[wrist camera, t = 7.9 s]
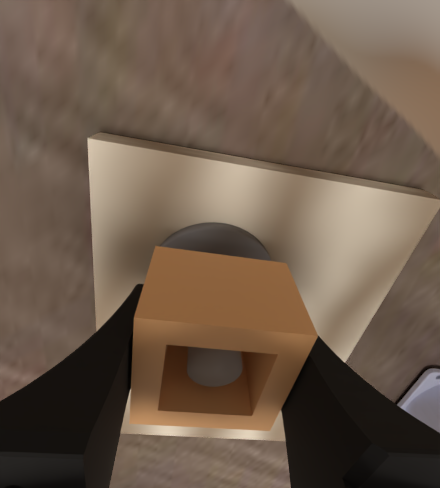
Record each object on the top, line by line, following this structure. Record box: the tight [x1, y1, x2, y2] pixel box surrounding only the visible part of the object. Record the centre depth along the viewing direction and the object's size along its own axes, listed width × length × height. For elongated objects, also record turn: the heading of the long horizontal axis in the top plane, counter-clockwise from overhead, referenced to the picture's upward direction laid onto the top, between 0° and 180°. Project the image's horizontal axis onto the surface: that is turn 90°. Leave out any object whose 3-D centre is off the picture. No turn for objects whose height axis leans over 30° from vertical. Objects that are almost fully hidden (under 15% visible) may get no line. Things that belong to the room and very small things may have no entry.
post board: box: [88, 132, 440, 441], centre depth 16 cm, size 16×22×7 cm
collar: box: [129, 246, 318, 431], centre depth 12 cm, size 6×6×4 cm
